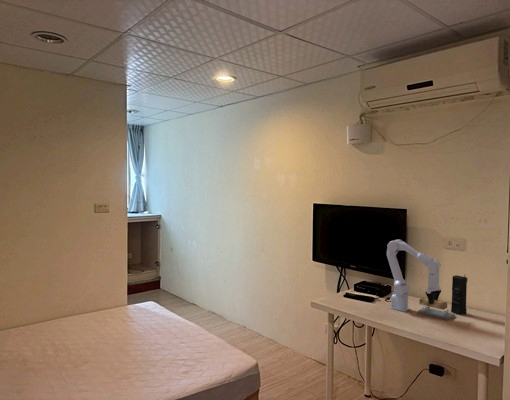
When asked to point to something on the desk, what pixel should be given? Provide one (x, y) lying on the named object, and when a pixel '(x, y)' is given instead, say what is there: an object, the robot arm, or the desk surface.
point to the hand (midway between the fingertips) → (433, 302)
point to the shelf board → (436, 303)
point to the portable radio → (459, 295)
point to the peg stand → (436, 313)
